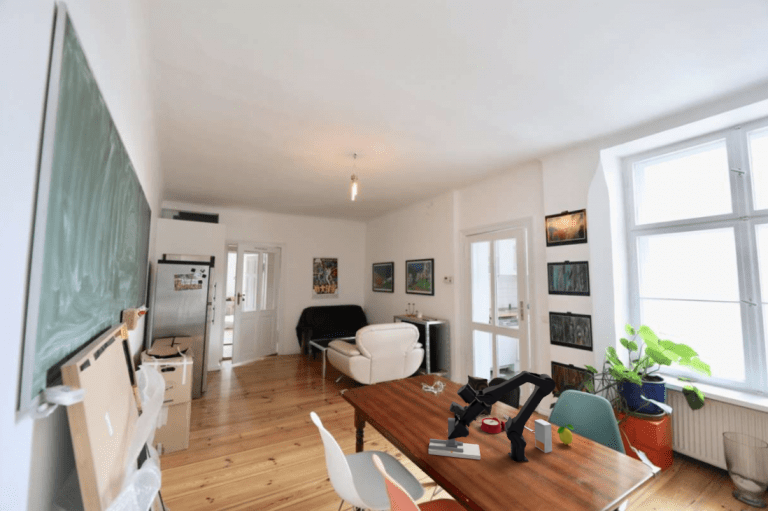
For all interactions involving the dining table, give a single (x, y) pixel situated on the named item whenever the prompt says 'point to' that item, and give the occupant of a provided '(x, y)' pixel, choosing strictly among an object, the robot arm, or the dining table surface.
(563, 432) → the lemon
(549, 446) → the skincare box
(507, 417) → the fork
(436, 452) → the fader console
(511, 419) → the robot arm
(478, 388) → the owl
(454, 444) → the fader tab
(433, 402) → the dining table surface
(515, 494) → the dining table surface
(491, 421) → the alarm clock
